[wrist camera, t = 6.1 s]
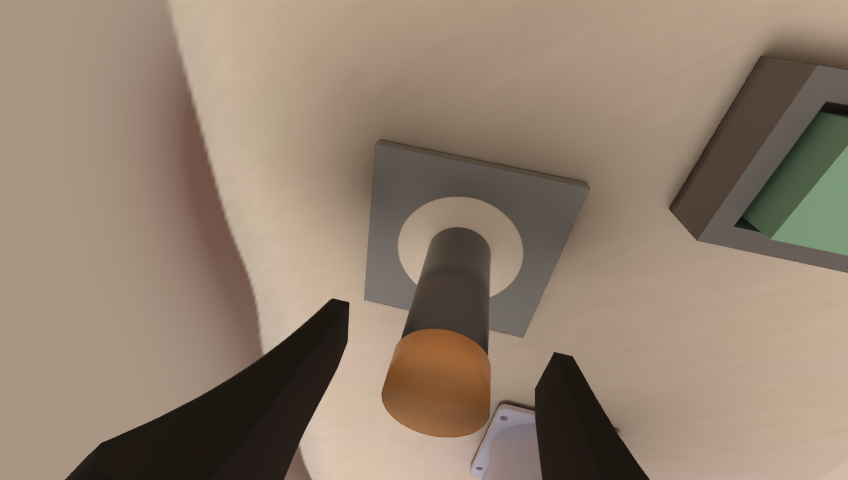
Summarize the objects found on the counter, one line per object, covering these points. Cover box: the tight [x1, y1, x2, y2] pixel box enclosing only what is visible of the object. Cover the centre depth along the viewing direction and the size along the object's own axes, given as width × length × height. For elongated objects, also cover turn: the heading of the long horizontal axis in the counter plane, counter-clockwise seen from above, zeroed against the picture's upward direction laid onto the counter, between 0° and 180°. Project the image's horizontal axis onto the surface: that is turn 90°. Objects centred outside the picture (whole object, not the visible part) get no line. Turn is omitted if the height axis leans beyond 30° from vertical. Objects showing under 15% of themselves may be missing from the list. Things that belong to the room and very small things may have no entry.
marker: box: [382, 227, 491, 437], centre depth 14 cm, size 3×3×8 cm
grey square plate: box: [364, 140, 590, 338], centre depth 17 cm, size 9×9×1 cm
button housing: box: [669, 56, 848, 273], centre depth 12 cm, size 6×6×2 cm
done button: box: [742, 109, 848, 256], centre depth 11 cm, size 4×4×2 cm
